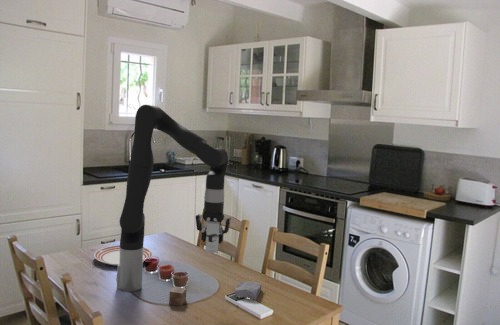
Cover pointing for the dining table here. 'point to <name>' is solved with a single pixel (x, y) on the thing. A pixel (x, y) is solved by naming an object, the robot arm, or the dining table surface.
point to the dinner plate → (116, 255)
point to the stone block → (248, 289)
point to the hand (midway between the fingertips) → (212, 242)
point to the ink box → (212, 237)
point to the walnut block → (177, 296)
